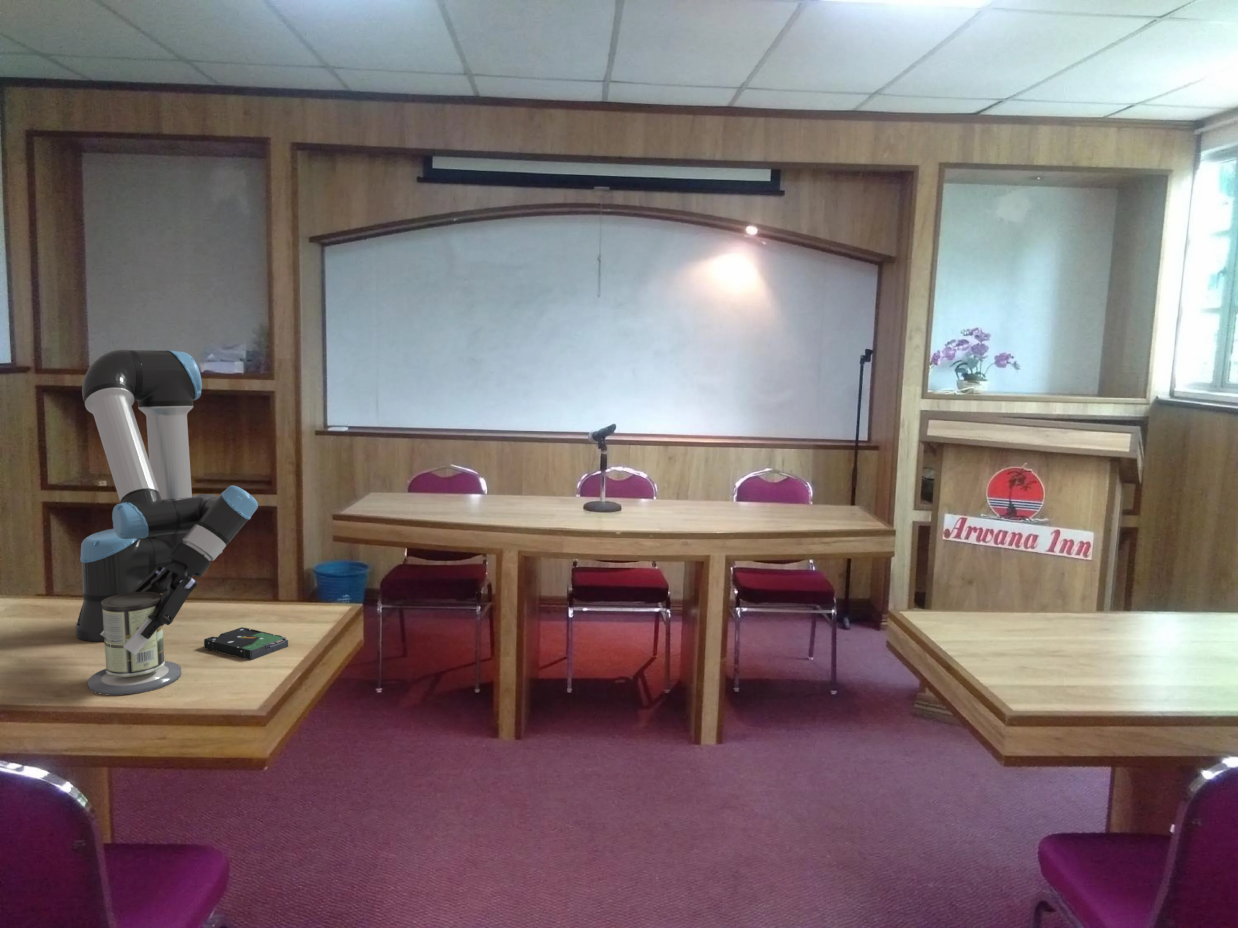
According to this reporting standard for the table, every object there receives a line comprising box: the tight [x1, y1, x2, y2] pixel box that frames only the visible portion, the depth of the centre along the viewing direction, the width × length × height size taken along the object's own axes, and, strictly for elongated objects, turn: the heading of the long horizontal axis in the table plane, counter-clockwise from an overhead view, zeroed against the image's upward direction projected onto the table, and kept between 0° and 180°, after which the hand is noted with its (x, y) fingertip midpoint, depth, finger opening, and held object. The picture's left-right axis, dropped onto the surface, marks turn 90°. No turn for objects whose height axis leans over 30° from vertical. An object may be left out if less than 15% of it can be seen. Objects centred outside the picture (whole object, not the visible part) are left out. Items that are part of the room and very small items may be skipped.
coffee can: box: [101, 592, 166, 677], centre depth 167 cm, size 10×10×14 cm
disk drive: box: [203, 626, 289, 661], centre depth 188 cm, size 10×3×15 cm
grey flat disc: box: [87, 660, 182, 696], centre depth 168 cm, size 16×16×1 cm
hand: (117, 644), depth 165 cm, fingers closed on coffee can, 10 cm apart
